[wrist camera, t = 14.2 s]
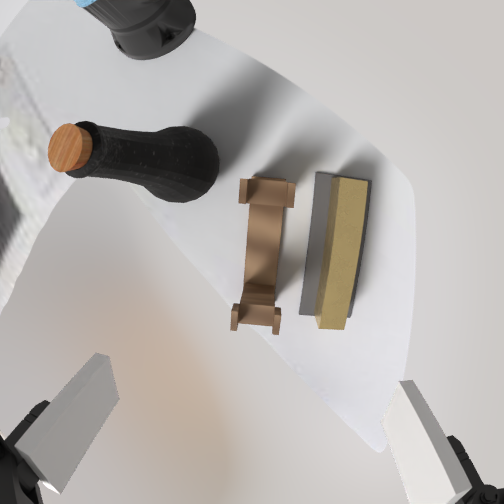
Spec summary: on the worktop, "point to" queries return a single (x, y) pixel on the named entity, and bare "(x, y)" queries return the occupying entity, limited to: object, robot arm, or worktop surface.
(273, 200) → the rack
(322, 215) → the mat
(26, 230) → the worktop surface
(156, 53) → the robot arm
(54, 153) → the bottle
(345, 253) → the rail
